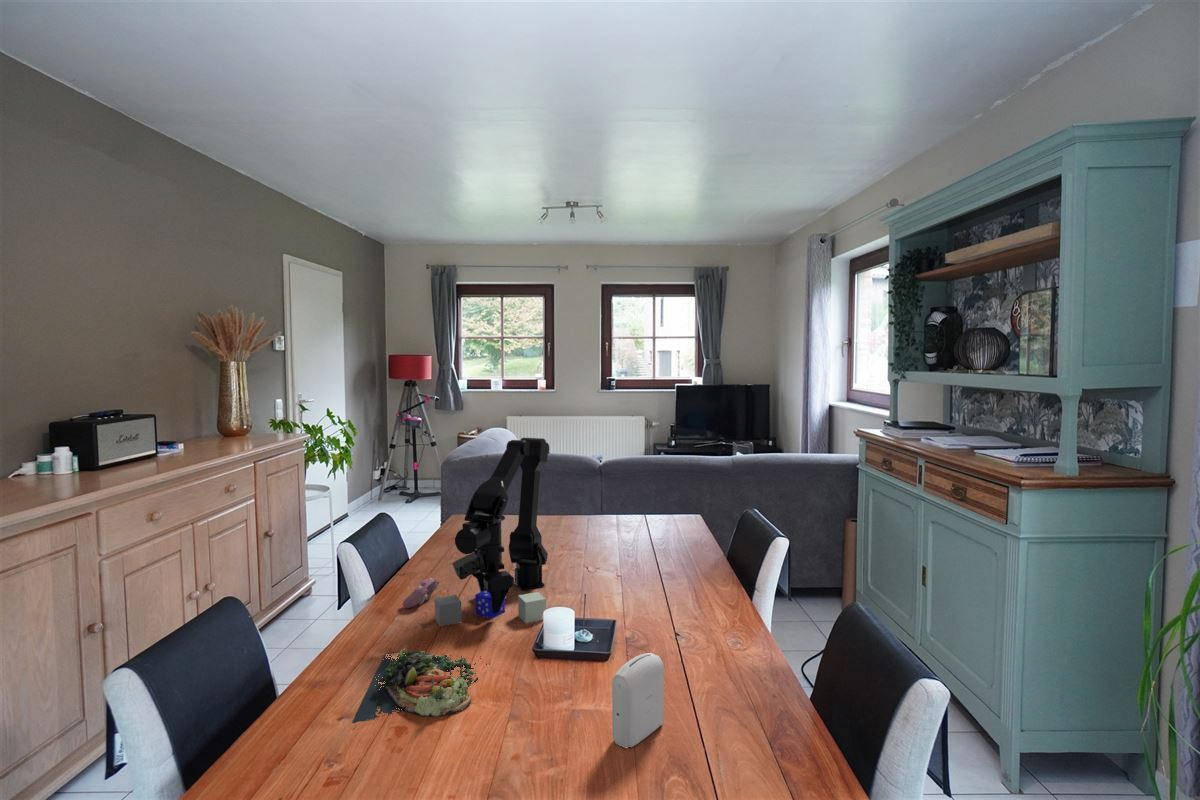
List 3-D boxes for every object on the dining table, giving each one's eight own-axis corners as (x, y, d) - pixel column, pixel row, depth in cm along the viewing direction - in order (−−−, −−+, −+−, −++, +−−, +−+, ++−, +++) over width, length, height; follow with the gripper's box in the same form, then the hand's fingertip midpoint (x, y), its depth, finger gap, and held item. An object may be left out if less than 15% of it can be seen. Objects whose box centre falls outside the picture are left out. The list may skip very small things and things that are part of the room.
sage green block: (538, 612, 155) (538, 592, 154) (545, 619, 150) (545, 598, 150) (518, 616, 152) (518, 595, 152) (525, 623, 148) (525, 602, 148)
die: (489, 608, 157) (488, 587, 157) (505, 612, 155) (504, 591, 155) (475, 614, 153) (474, 594, 153) (491, 619, 151) (491, 598, 150)
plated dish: (505, 737, 104) (504, 693, 104) (323, 754, 101) (321, 709, 100) (507, 645, 139) (506, 612, 139) (371, 655, 135) (370, 621, 135)
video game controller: (415, 616, 156) (427, 591, 155) (399, 606, 157) (411, 582, 156) (433, 601, 166) (444, 578, 165) (418, 592, 166) (429, 569, 165)
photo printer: (629, 753, 99) (629, 674, 98) (608, 742, 102) (608, 666, 101) (667, 724, 107) (667, 651, 106) (646, 714, 110) (646, 644, 109)
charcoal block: (456, 615, 153) (456, 594, 153) (461, 623, 148) (461, 601, 148) (435, 619, 151) (434, 598, 150) (439, 627, 146) (439, 605, 146)
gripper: (446, 537, 158) (447, 599, 159) (465, 557, 141) (467, 627, 142) (490, 531, 163) (491, 592, 164) (514, 551, 146) (515, 618, 147)
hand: (490, 606), depth 154 cm, fingers open, 8 cm apart
